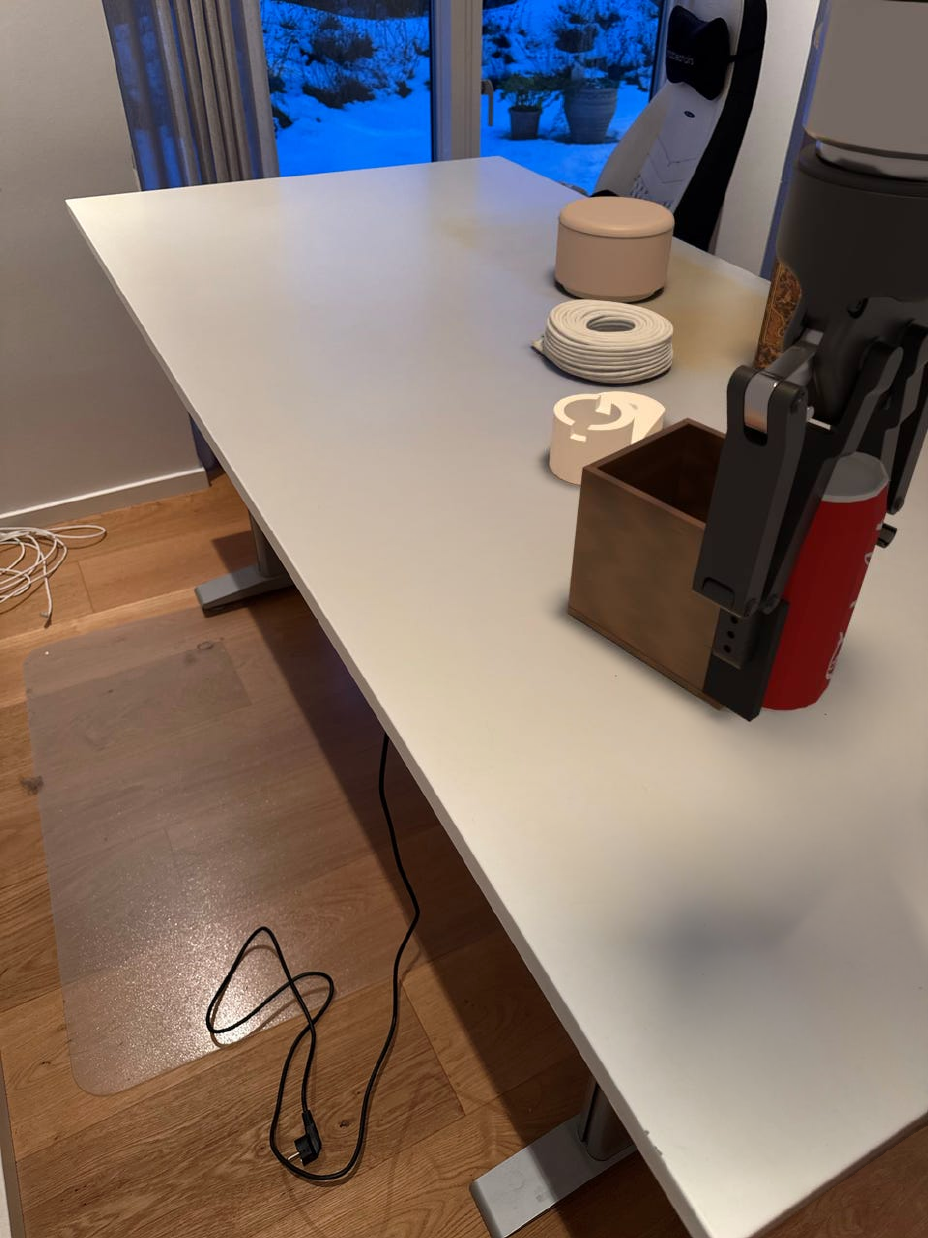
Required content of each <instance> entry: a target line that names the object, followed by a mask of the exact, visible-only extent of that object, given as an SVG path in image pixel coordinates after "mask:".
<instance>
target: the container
mask: <svg viewBox="0 0 928 1238" xmlns="http://www.w3.org/2000/svg"><path fill="white" fill-rule="evenodd" d="M557 220H558V224H557V226H558V227H557V238H556V252H555V265H554V266H555V268H554V278H555V280H556V281H557V282H558V283H559V284H561V285H562V286H563V289H564V290H565V291H566V292H568V293H569V294H571V295H573V296H575V297H578V298H581V299H583V300H599V301H609V302H617V303H631V302H637V301H642V300H645V299H647V298H650V297H651V296H652V295H654V294H655V293H656V292H657V291H658V290H659V289H662V288H663V287H664V286H665V285H666V282H667V278H668V277H667V276H668V270H669V263H670V257H671V250H672V243H673V235H674V229H675V225H676V224H675V222H676V221H675V217H674V215H673V213H672V212H671V211H670V210H669V209H668V208H666V207H665V206H664V205H661V204H659V203H657V202H653V201H651V200H645V199H640V198H635V197H627V196H626V197H624V196H594V197H587V198H586V197H585V198H581V199H576V200H573V201H572V202H571V201H570V203H568V204H566V205H565V206H563V208H561V210H560V211H559V214H558V217H557Z"/></svg>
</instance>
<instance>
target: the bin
mask: <svg viewBox="0 0 928 1238" xmlns="http://www.w3.org/2000/svg"><path fill="white" fill-rule="evenodd" d="M725 435H726V432H725V433H724V432H722V431H720V430H718V429H715V428H713V427H712V426H711V427H710V426H708V425H706V424H705V423H704V424H703V423H701V422H699V421H697V420H694V419H692V418H690V417H686V418H684V419H682V420H679V421H678V422H675V423H673V424H671V425H669V426H667V427H665V428H662V429H661V431H658V432H656V433H654V434H652V435H650V436H648V437H646V438H644V439H642V440H639V441H637V442H635V443H633V444H631V445H629V446H627V447H625V448H623V449H620V450H618V451H616V452H614V453H612V454H610V455H608V456H606V457H604V458H602V459H599V460H597V461H595V462H593V463H591V464H589V465H587V466H584V467H583V468H582V476H581V485H579V487H580V488H579V497H578V505H577V515H576V524H575V534H574V543H573V544H574V545H573V552H572V564H571V573H570V582H569V591H568V601H567V602H568V604H567V613H568V614H569V615H571V616H572V617H574V618H575V619H577V620H578V621H580V622H582V623H583V624H584V625H587V627H590V628H591V629H593V630H594V631H595V632H597V633H599V634H600V635H602V636H603V637H604V638H606V639H608V640H610V641H611V642H613V643H614V644H616V645H618V647H620V648H621V649H624V651H626V652H628V653H629V654H631V655H633V656H634V657H636V658H638V659H639V660H640V661H642V662H644V663H645V664H647V665H648V666H650V667H651V668H653V669H654V670H656V671H657V672H659V673H661V674H663V675H664V676H665V677H667V678H668V679H670V680H671V681H673V682H674V683H676V684H678V685H679V686H680V687H682V688H684V689H685V690H687V691H688V692H690V693H692V694H693V695H695V696H696V697H698V698H699V699H701V700H703V701H704V702H706V703H707V704H709V705H710V706H712V707H713V708H715V709H716V710H717V711H718V710H719V711H720V710H722V709H723V708H724V707H725V706H723V705H721V704H720V703H718V702H717V701H715V700H713V699H712V698H710V697H709V696H707V695H705V694H704V693H702V689H703V685H704V680H705V676H706V671H707V667H708V662H709V658H710V653H711V649H712V644H713V640H714V635H715V631H716V626H717V622H718V617H719V613H720V608H721V607H719V606H717V605H716V604H714V603H712V602H710V601H708V600H707V599H705V598H703V597H701V596H700V595H698V594H696V593H694V592H693V590H692V584H693V580H694V575H695V571H696V566H697V562H698V557H699V553H700V548H701V544H702V539H703V535H704V530H705V526H706V521H707V517H708V512H709V508H710V503H711V498H712V494H713V489H714V485H715V480H716V476H717V471H718V467H719V462H720V458H721V453H722V449H723V444H724V440H725Z"/></svg>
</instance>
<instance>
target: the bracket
mask: <svg viewBox="0 0 928 1238" xmlns="http://www.w3.org/2000/svg"><path fill="white" fill-rule="evenodd" d="M552 413H553V414H552V425H551V437H550V452H549V469H550V471H551V472H552V473H553V475H554V476H556V477H557V478H559V479H561V480H563V481H565V482H568V483H569V484H574V485H578V486H580V485H581V476H582V468H583V467H584V466H587V465H589V464H591V463H593V462H595V461H597V460H599V459H602V458H604V457H606V456H608V455H610V454H612V453H614V452H616V451H618V450H620V449H623V448H625V447H627V446H629V445H631V444H633V443H635V442H637V441H639V440H642V439H644V438H646V437H648V436H650V435H652V434H654V433H656V432H658V431H661V430H663V425H664V420H665V413H666V408H665V406H664V405H663V404H661V402H659V401H657V400H656V399H654V398H651V397H649V396H646V395H643V394H639V393H636V392H629V391H618V390H617V391H614V390H613V391H604V392H602V391H601V392H599V393H578V394H574V395H573V394H572V395H569V396H566V397H563V398H562V399H560V400H558V401H557V402H556V403H555V405H554V406H553V411H552Z"/></svg>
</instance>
